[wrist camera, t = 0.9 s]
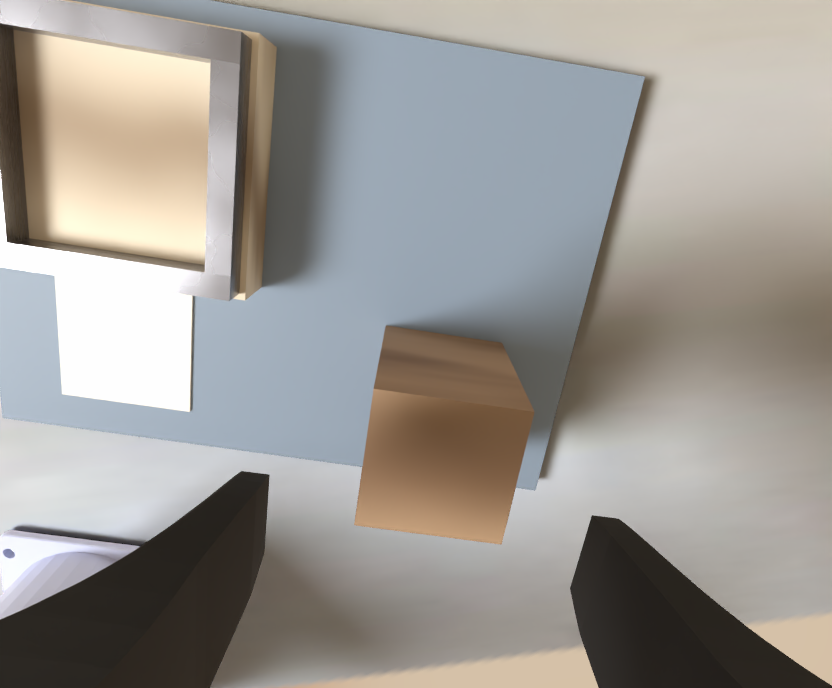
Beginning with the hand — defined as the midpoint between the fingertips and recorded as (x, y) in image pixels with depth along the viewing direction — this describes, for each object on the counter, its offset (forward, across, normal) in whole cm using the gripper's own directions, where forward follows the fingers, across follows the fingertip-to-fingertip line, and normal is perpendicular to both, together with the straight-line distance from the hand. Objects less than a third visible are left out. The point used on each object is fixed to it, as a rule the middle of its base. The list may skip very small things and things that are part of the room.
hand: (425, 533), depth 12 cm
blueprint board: (+10, +5, -4) cm, 12 cm away
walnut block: (+10, -1, +1) cm, 10 cm away
